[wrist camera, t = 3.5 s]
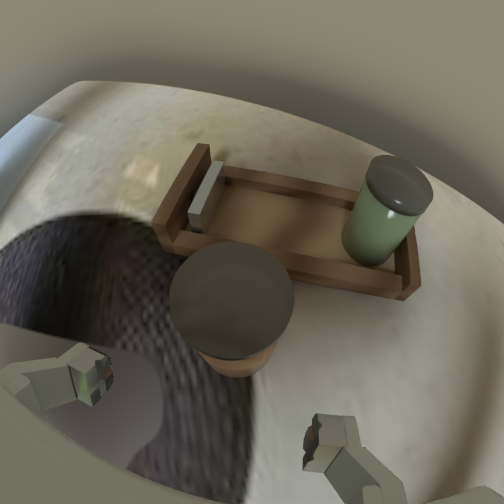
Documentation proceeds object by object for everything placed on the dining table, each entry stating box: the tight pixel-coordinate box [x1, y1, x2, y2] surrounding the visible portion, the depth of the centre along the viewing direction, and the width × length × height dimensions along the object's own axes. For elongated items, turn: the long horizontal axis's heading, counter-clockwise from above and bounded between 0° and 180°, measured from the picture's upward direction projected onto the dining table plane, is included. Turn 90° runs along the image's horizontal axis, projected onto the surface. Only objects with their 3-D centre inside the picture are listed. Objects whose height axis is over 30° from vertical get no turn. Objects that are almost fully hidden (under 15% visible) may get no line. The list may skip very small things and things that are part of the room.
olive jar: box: [341, 155, 433, 267], centre depth 20 cm, size 5×5×8 cm
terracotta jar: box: [169, 241, 294, 378], centre depth 15 cm, size 5×5×9 cm
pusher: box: [187, 160, 226, 235], centre depth 23 cm, size 2×6×3 cm, turn 167°
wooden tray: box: [151, 143, 421, 301], centre depth 23 cm, size 21×10×4 cm, turn 77°
